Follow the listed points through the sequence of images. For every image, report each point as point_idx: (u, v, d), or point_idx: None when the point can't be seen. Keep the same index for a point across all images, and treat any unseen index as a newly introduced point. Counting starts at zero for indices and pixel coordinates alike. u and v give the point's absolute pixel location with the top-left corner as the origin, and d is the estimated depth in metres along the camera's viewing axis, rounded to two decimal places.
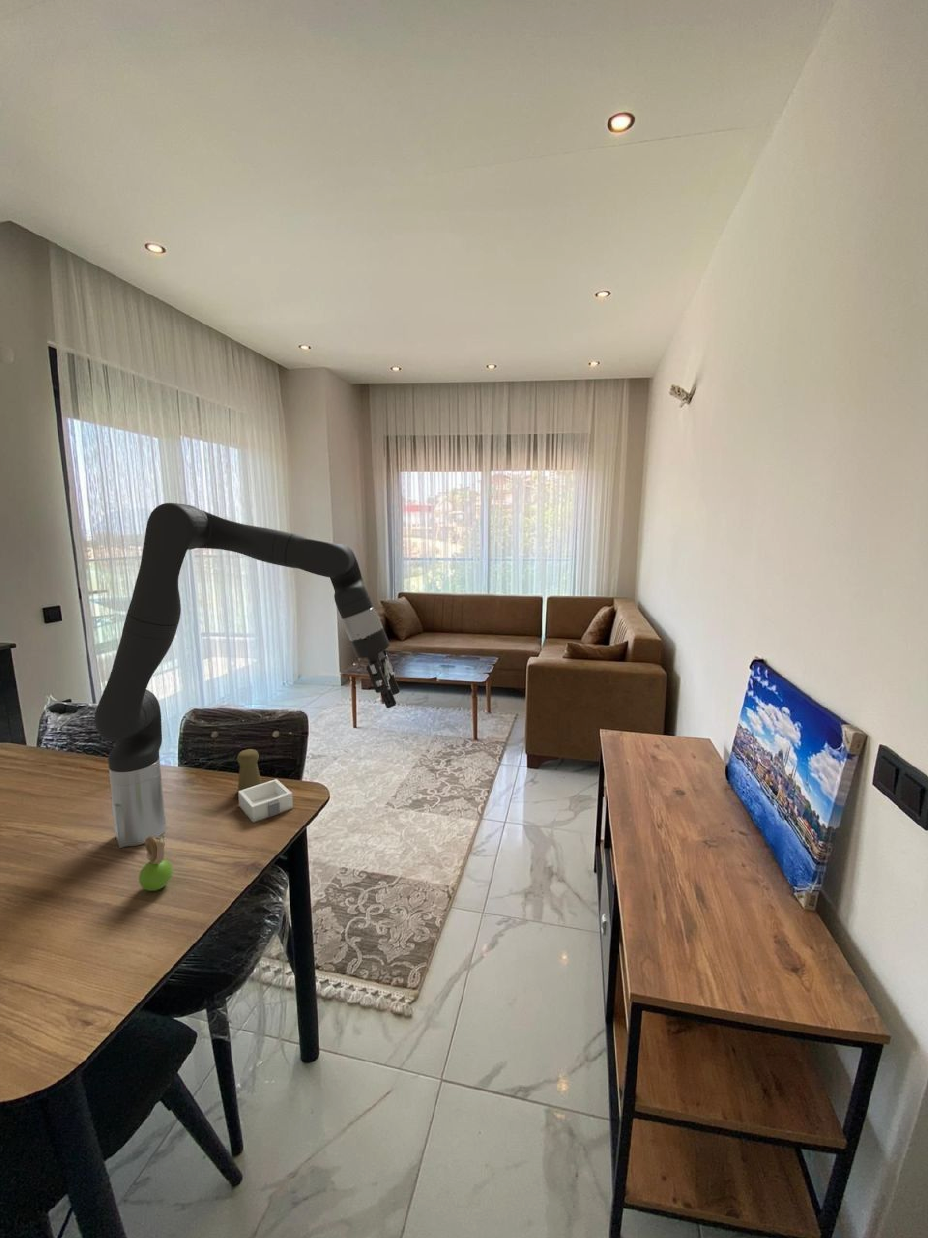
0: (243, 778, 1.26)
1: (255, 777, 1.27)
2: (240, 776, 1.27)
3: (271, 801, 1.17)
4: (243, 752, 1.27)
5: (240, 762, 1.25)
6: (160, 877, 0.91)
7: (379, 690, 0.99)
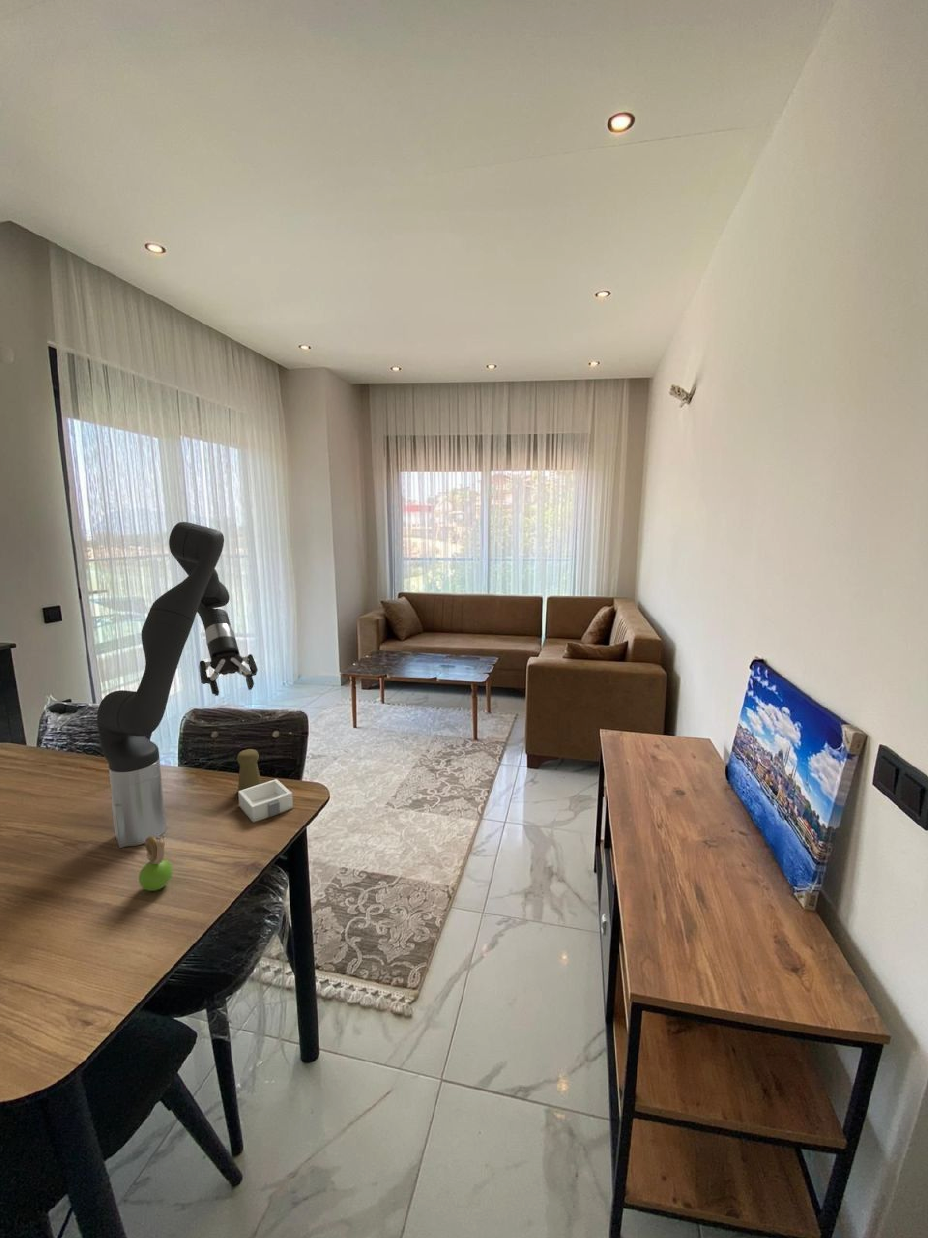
0: (243, 778, 1.26)
1: (255, 777, 1.27)
2: (240, 776, 1.27)
3: (271, 801, 1.17)
4: (243, 752, 1.27)
5: (240, 762, 1.25)
6: (160, 877, 0.91)
7: (256, 671, 1.40)
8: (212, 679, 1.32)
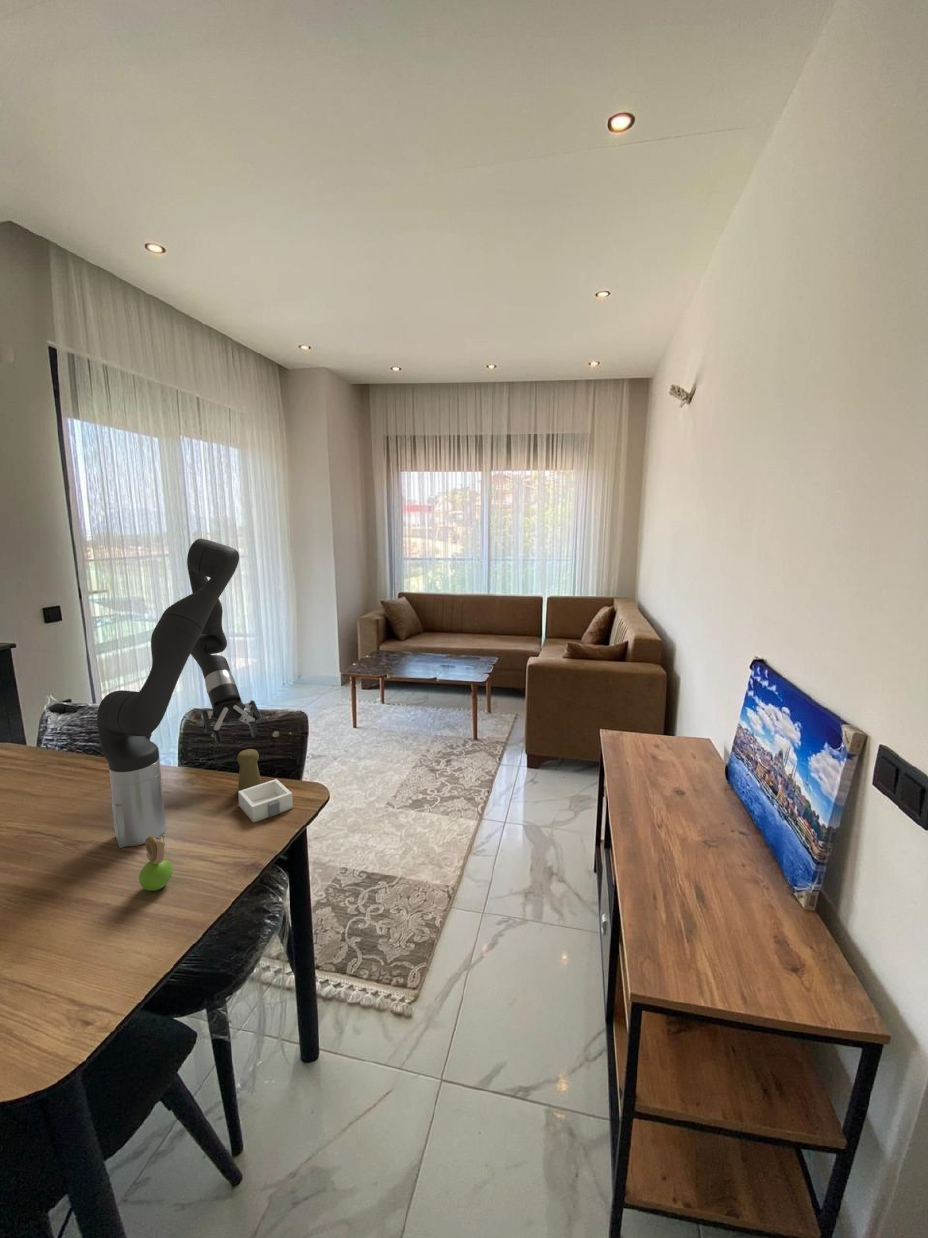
0: (243, 778, 1.26)
1: (255, 777, 1.27)
2: (240, 776, 1.27)
3: (271, 801, 1.17)
4: (243, 752, 1.27)
5: (240, 762, 1.25)
6: (160, 877, 0.91)
7: (259, 717, 1.39)
8: (216, 729, 1.30)
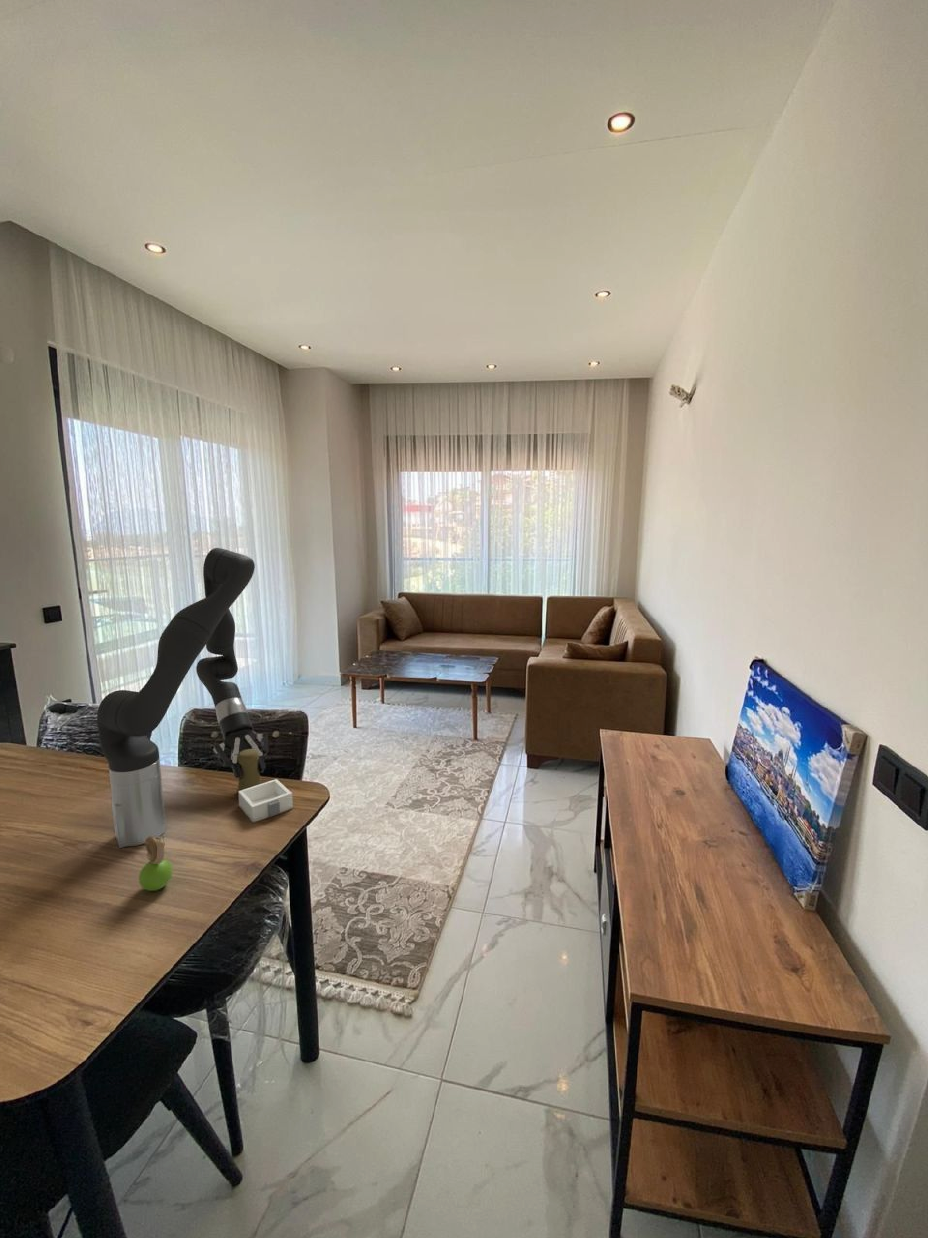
0: (243, 778, 1.26)
1: (255, 776, 1.27)
2: None
3: (271, 801, 1.17)
4: (243, 752, 1.27)
5: (240, 762, 1.25)
6: (160, 877, 0.91)
7: (267, 751, 1.32)
8: (234, 762, 1.26)
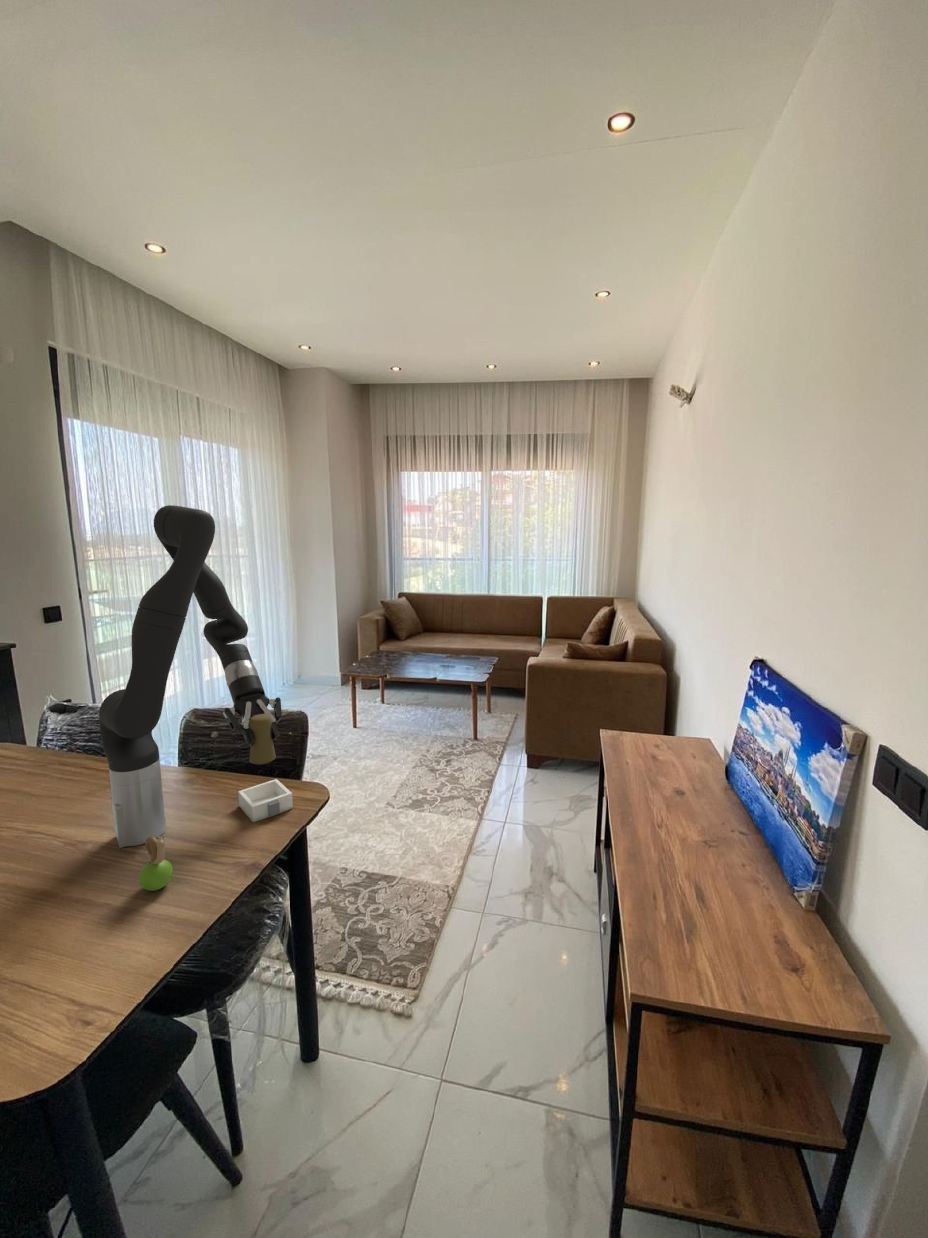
0: (255, 745, 1.16)
1: (268, 743, 1.18)
2: None
3: (271, 801, 1.17)
4: (255, 717, 1.17)
5: (252, 727, 1.16)
6: (160, 877, 0.91)
7: None
8: (246, 727, 1.16)
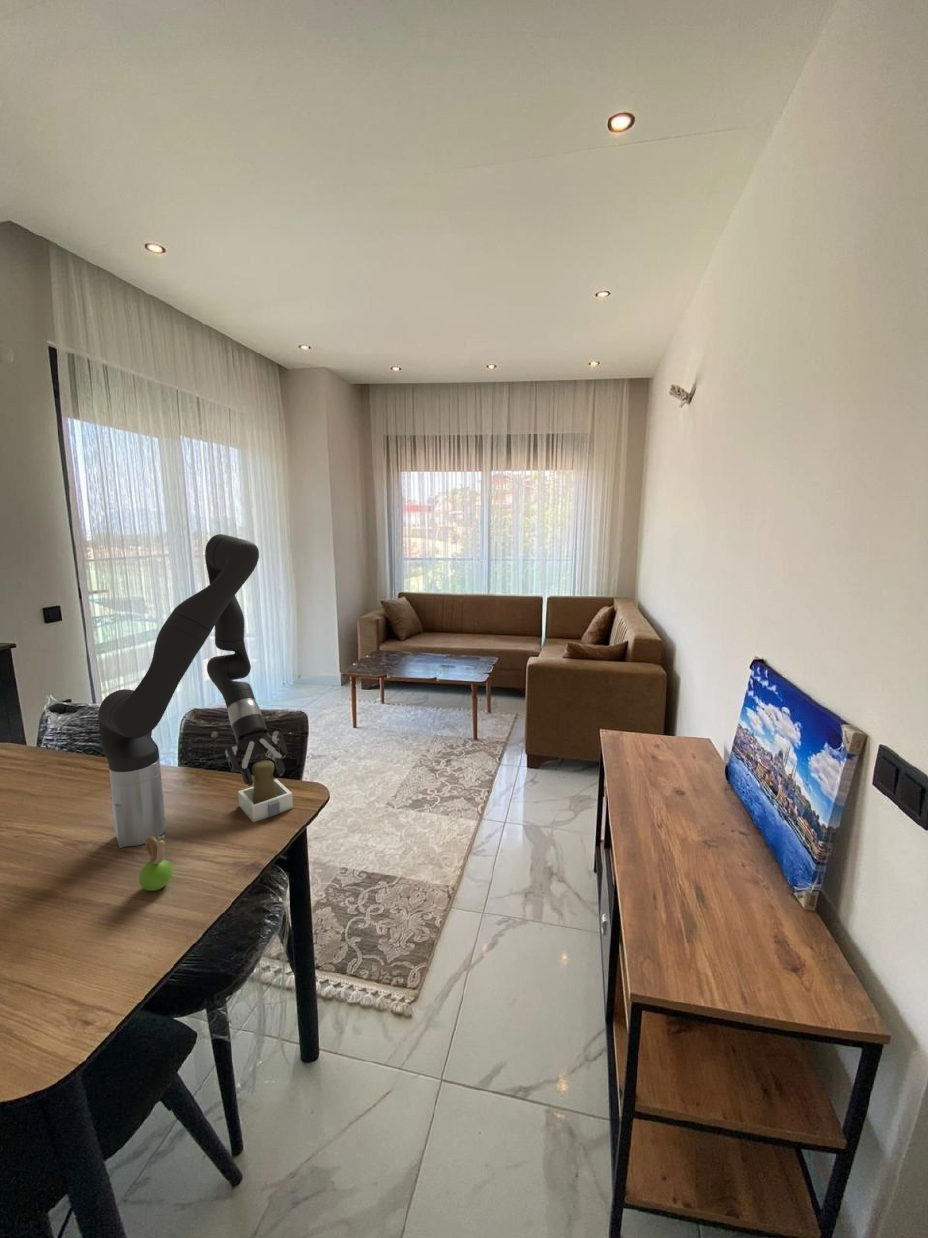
0: (258, 791, 1.18)
1: (271, 789, 1.20)
2: (255, 789, 1.19)
3: (271, 801, 1.17)
4: (258, 763, 1.19)
5: (255, 774, 1.18)
6: (160, 877, 0.91)
7: None
8: (244, 767, 1.17)
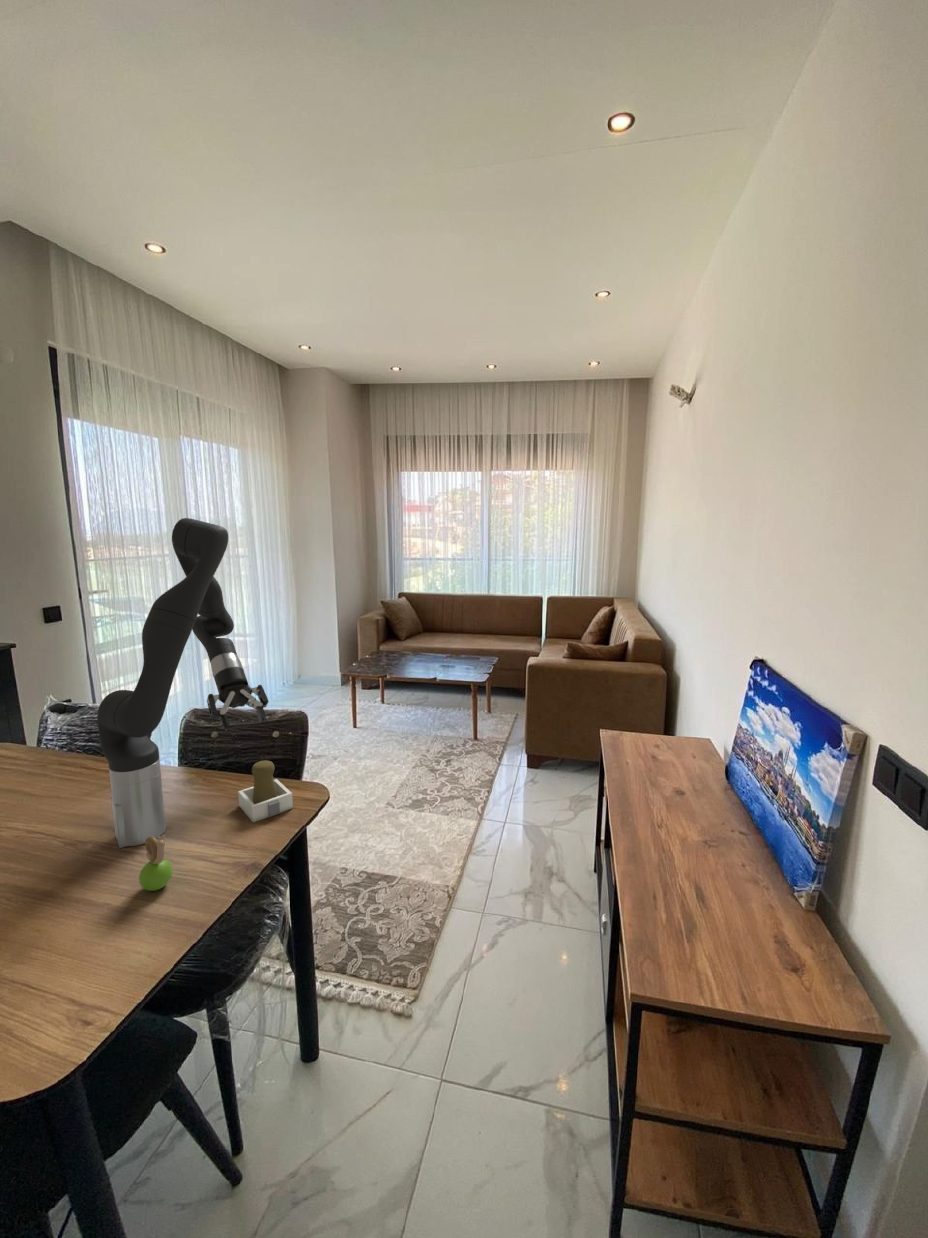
0: (258, 792, 1.18)
1: (271, 790, 1.20)
2: (255, 789, 1.19)
3: (271, 801, 1.17)
4: (258, 764, 1.19)
5: (255, 775, 1.18)
6: (160, 877, 0.91)
7: (267, 702, 1.33)
8: (222, 713, 1.24)
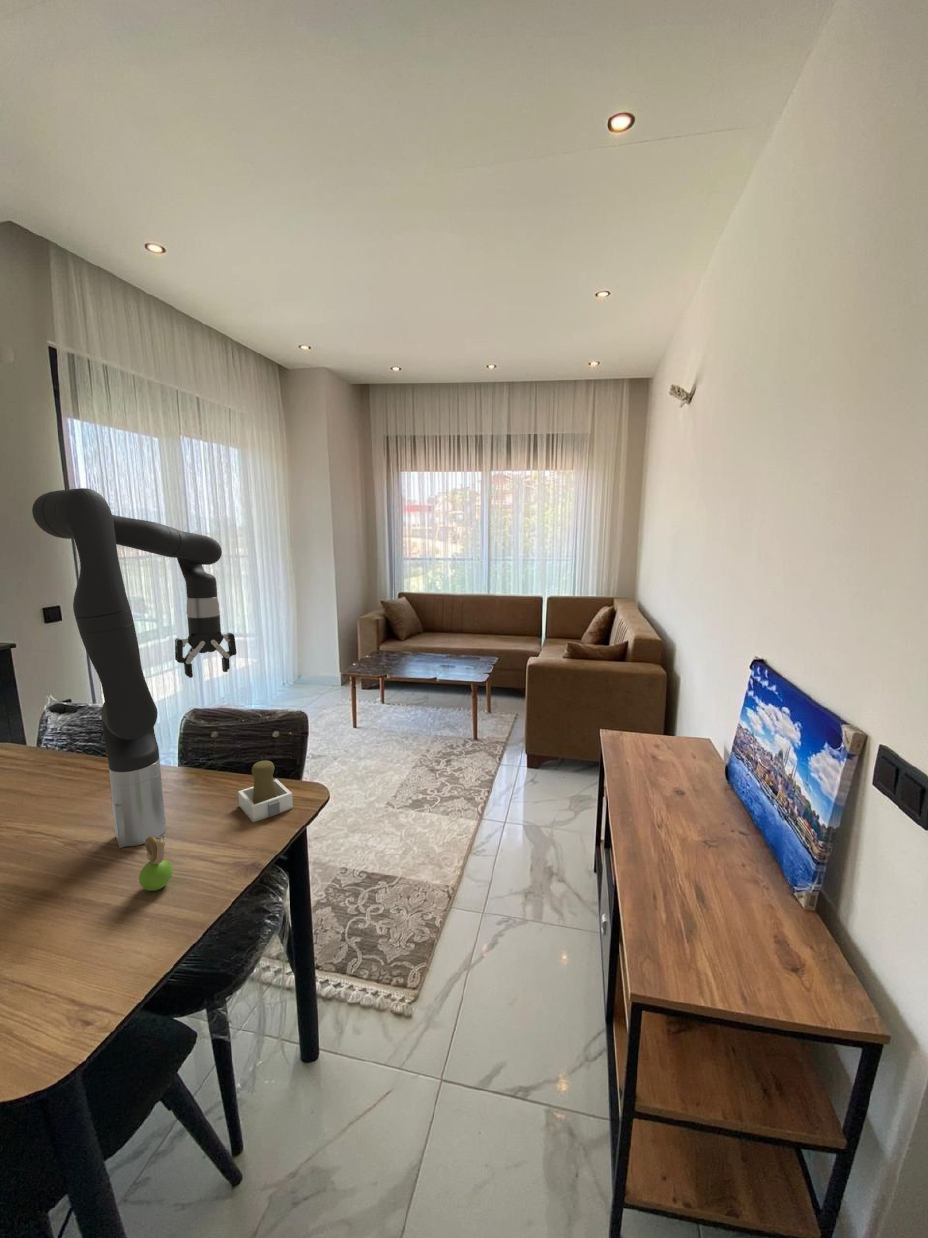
0: (258, 792, 1.18)
1: (271, 790, 1.20)
2: (255, 789, 1.19)
3: (271, 801, 1.17)
4: (258, 764, 1.19)
5: (255, 775, 1.18)
6: (160, 877, 0.91)
7: None
8: (188, 663, 1.25)
